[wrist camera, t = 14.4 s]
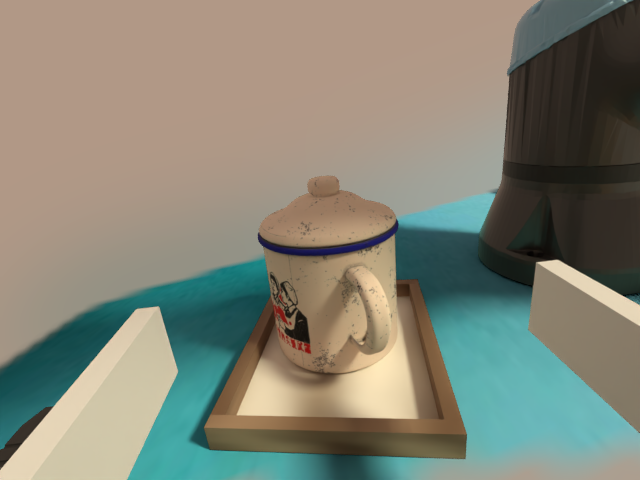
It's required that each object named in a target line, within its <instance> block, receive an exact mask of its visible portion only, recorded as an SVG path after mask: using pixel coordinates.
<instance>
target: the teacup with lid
mask: <svg viewBox="0 0 640 480" xmlns="http://www.w3.org/2000/svg"><path fill="white" fill-rule="evenodd" d="M307 185H308V191H309V193H308V194H305V195H302V196H300V197H298V198H296V199H295V200H294V201H293V202H291V203H290V204H289V205H288V206H287V207H286V208H284V209H281V210H279V211H277V212H274V213H272V214H271V215H269V216H268V217H267V218H265V219H264V220H263V222H262V223H261V225H260V228H259V233H258V240H259V242H260V244H261V245H262V246H263V248H264V254H265V260H266V266H267V272H268V279H269V285H270V291H271V297H272V303H273V309H274V315H275V321H276V327H277V333H278V339H279V344H280V347H281V350H282V351H283V353H284V354H285V356H286V357H287V358H288V359H289V360H290V361H292V362H293V363H295V364H296V365H298V366H300V367H302V368H305V369H307V370H311V371H315V372H320V373H347V372H353V371H357V370H360V369H363V368H366V367H369V366H371V365H373V364H375V363H377V362H378V361H380V360H381V359H382V358H384V357H385V356H386V355H387V354H388V353H389V352H390V351H391V349H392V348H393V346H394V344H395V342H396V340H397V333H398V328H397V294H396V259H395V233H396V231H397V229H398V221H397V219H396V216H395V214H394V212H393V211H392V210H391V209H390V208H389V207H387V206H386V205H384V204H381V203H377V202H374V201H368V200H365V199H363V198H361V197H359V196H358V195H356V194H353V193H351V192H348V191H342V190H339V180H338V179H337V178H336V177H335V176H319V177H315V178H311V179H310V180H309V182H308V184H307Z"/></svg>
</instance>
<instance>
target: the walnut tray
mask: <svg viewBox="0 0 640 480" xmlns="http://www.w3.org/2000/svg"><path fill="white" fill-rule="evenodd" d="M396 294H397V328H398V333H397V340H396V342H395V344H394V346H393V348H392V349H391V351H390V352H389V353H388V354H387V355H386V356H385V357H384V358H382V359H381V360H380V361H378V362H377V363H375V364H373V365H371V366H369V367H366V368H363V369H360V370H357V371H353V372H347V373H320V372H315V371H311V370H307V369H305V368H302V367H300V366H298V365H296V364H295V363H293V362H292V361H290V360H289V359H288V358H287V357H286V356H285V354H284V353H283V351H282V350H281V347H280V344H279V339H278V333H277V327H276V321H275V315H274V309H273V303H272V297H271V296H270V298H269V300H268V302H267V304H266V306H265V308H264V310H263V312H262V314H261V316H260V318H259V320H258V322H257V324H256V326H255V328H254V330H253V332H252V334H251V336H250V338H249V340H248V341H247V343H246V345H245V347H244V349H243V351H242V353H241V355H240V357H239V359H238V361H237V363H236V365H235V367H234V369H233V371H232V373H231V375H230V377H229V379H228V381H227V383H226V385H225V387H224V389H223V391H222V393H221V395H220V397H219V399H218V401H217V403H216V405H215V407H214V409H213V411H212V413H211V415H210V417H209V419H208V421H207V423H206V425H205V426H204V430H205V433H206V437H207V441H208V444H209V448H210V450H234V451H262V452H290V453H318V454H346V455H373V456H401V457H429V458H457V459H465V458H466V440H467V434H466V430H465V427H464V424H463V421H462V418H461V415H460V412H459V408H458V405H457V402H456V399H455V396H454V393H453V390H452V386H451V383H450V380H449V377H448V374H447V371H446V368H445V364H444V361H443V358H442V355H441V352H440V349H439V345H438V342H437V339H436V336H435V333H434V330H433V327H432V323H431V320H430V317H429V314H428V311H427V308H426V305H425V301H424V298H423V295H422V292H421V289H420V286H419V283H418V279H411V280H396Z"/></svg>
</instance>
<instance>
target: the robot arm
mask: <svg viewBox="0 0 640 480" xmlns="http://www.w3.org/2000/svg"><path fill="white" fill-rule="evenodd" d="M507 76H510V77H509V91H508V92H509V93H508V105H507V120H506V133H505V147H504V160H503V172H502V181H501V184H500V187H499V189H498V191H497V194H496V196H495V198H494V201H493V203H492V205H491V207H490V210H489V212H488V214H487V217H486V219H485V221H484V224H483V226H482V228H481V231H480V234H479V245H478V256H479V258H480V260H481V261H482V262H483V263H484V264H485V265H486V266H487V267H489V268H490V269H492V270H493V271H495V272H497V273H499V274H501V275H503V276H505V277H507V278H510V279H513V280H515V281H518V282H521V283H525V284H528V285H532V286H533V293H532V302H531V310H530V319H529V327H528V330H529V331H530V332H531V333H532V334H534V335H535V336H536V337H537V338H538V339H539V340H540V341H541V342H542V343H543V344H544V345H545V346H546V347H547V348H549V349H550V350H551V351H552V352H553V353H554V354H555V355H556V356H557V357H558V358H559V359H560V360H561V361H563V362H564V363H565V364H566V365H567V366H568V367H569V368H570V369H571V370H572V371H573V372H574V373H575V374H577V375H578V376H579V377H580V378H581V379H582V380H583V381H584V382H585V383H586V384H587V385H588V386H589V387H591V388H592V389H593V390H594V391H595V392H596V393H597V394H598V395H599V396H600V397H601V398H602V399H603V400H604V401H606V402H607V403H608V404H609V405H610V406H611V407H612V408H613V409H614V410H615V411H616V412H617V413H618V414H620V415H621V416H622V417H623V418H624V419H625V420H626V421H627V422H628V423H629V424H630V425H631V426H632V427H634V428H635V429H636V430H637V431H638V432H639V433H640V305H638V304H636V303H635V302H633V301H631V300H629V299H627V298H626V297H624V296H622V295H624V294H634V293H640V0H540V1H539V2H537V3H536V4H534V5H533V6H532V7H531V8H530V9H529V10H527V12H526V13H525V14H524V15H523V16H522V18H521V19H520V21H519V22H518V24H517V27H516V30H515V34H514V42H513V49H512V56H511V63H510V67H509V69H508V71H507ZM177 373H178V370H177V367H176V363H175V360H174V356H173V353H172V349H171V346H170V343H169V339H168V336H167V332H166V329H165V326H164V322H163V319H162V315H161V312H160V309H159V307H150V308H142V309H136V310H135V311H134V313H133V314H132V315H131V316H130V317H129V318H128V320H127V321H126V322H125V323H124V324H123V326H122V327H121V328H120V329H119V330H118V331H117V333H116V334H115V335H114V336H113V337H112V339H111V340H110V341H109V342H108V343H107V344H106V346H105V347H104V348H103V349H102V350H101V352H100V353H99V354H98V355H97V356H96V357H95V359H94V360H93V361H92V362H91V363H90V365H89V366H88V367H87V368H86V369H85V370H84V372H83V373H82V374H81V375H80V376H79V378H78V379H77V380H76V381H75V382H74V383H73V385H72V386H71V387H70V388H69V389H68V390H67V392H66V393H65V394H64V395H63V396H62V398H61V399H60V400H59V401H58V402H57V403H56V405H55V406H53V407H46V408H44V409H43V410H42V411H40V412H39V413H38V414H36V415H35V416H34V417H33V418H31V419H30V420H29V421H27V422H26V423H25V424H23V425H22V426H21V427H20V429H19V430H18V431H17V432H16V433H15V434H14V435H13V436H12V438H11V439H10V440H9V441H8V442H7V443H6V444H5V448H4V449H1V450H0V480H127V478H128V476H129V474H130V472H131V470H132V468H133V466H134V463H135V461H136V459H137V457H138V455H139V453H140V451H141V449H142V447H143V445H144V442H145V440H146V438H147V436H148V434H149V432H150V430H151V428H152V426H153V424H154V421H155V419H156V417H157V415H158V413H159V411H160V409H161V407H162V405H163V402H164V400H165V398H166V396H167V394H168V392H169V390H170V388H171V386H172V384H173V381H174V379H175V377H176V375H177Z"/></svg>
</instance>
